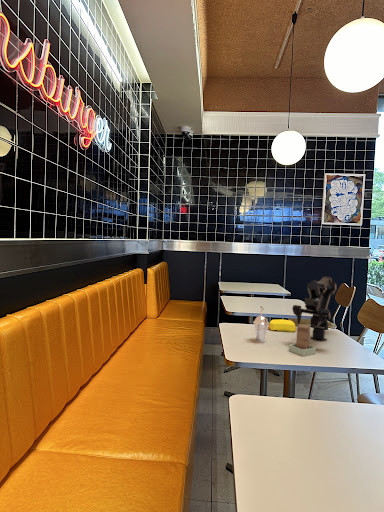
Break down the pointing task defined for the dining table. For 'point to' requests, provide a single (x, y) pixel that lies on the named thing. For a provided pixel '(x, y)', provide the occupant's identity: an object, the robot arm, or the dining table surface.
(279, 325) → the yellow rounded block
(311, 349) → the green holder
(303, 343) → the walnut block
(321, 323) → the robot arm
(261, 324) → the cup with straw
